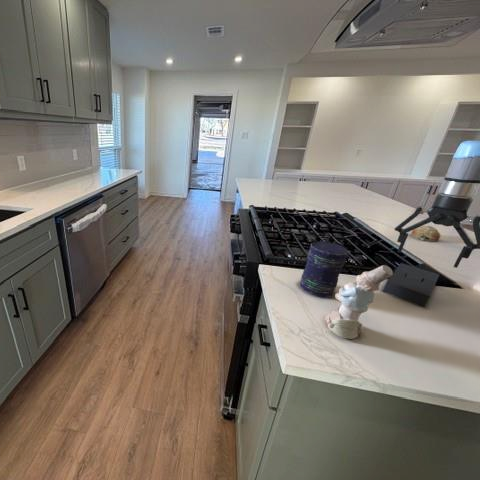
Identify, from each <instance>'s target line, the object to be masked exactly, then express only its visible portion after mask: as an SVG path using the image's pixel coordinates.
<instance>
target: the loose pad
mask: <svg viewBox="0 0 480 480" xmlns="http://www.w3.org/2000/svg"><path fill="white" fill-rule="evenodd" d="M395 270H398V271H401V272H404V273H406V275H405V277H408V278H411V279H414V280H417V281H420V282H423V280H424V279H427V280H430V281H433V282H436V283H437V282H438V279H439V277H440V274H439V273H437V272H436V273H435V272H432V271H429V270H427V269H422V268H419V267H416V266H414V265H413V266H412V265H410V264H406V263H402V262H400V264H399V265H398V266H397V267H396V269H395Z"/></svg>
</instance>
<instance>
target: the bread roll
mask: <svg viewBox="0 0 480 480" xmlns="http://www.w3.org/2000/svg"><path fill="white" fill-rule="evenodd" d="M410 235H411V236H412V237H413V238H415V239H418V240H420V241H426V242H432V243H433V242H434V243H435V242H438V241H439V240H440V238H441V233H440V232H439V231H438V229H437V228H436V227H433V226H432V225H423V226H421V227H418V228H416V229H414V230H412V231H411V233H410Z"/></svg>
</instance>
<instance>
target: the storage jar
mask: <svg viewBox="0 0 480 480" xmlns="http://www.w3.org/2000/svg"><path fill="white" fill-rule="evenodd" d="M348 254H349V250H348V249H347V248H346V247H344V246H342V245H339V244H337V243H334V242H330V241H323V240H321V241H320V240H319V241H318V240H316V241H312V242H311V243H310V248H309V250H308V252H307V257H306V264H305V267H304V269H303V272H302V274H301V279H300V282H299V287H300V288H301V290H303V291H304V292H305V293H307V294H309V295H311V296H314V297H318V298H326V299H327V298H331V297H333V296H334V292H335V290H336V289H337V286H338V282H339V276H340V273H341V271H342V269H343V268H344V265H345V263H346V260H347V256H348Z"/></svg>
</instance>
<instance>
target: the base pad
mask: <svg viewBox="0 0 480 480" xmlns="http://www.w3.org/2000/svg"><path fill="white" fill-rule="evenodd" d="M405 275H406V273H404V272H401V271H398V270H396V269H395V270H394V271H393V275H392V276H390V277H389V278H388V279H387V281H386V282H385V285H384V286H383V289H382V292H383V293H386V294H388V295H391V296H393V297H396V298H399V299H401V300H404V301H407V302H409V303H411V304H414V305H418V306H420V307H423V308H425V307H426V305H427V303H428V301H429V300H430V298H431V296H432V293H433V291H434V290H435V287H436V284H437V282H433V281H430V280H427V279H424V280H423V282H420V281H417V280H414V279H411V278H408V277H405Z"/></svg>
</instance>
